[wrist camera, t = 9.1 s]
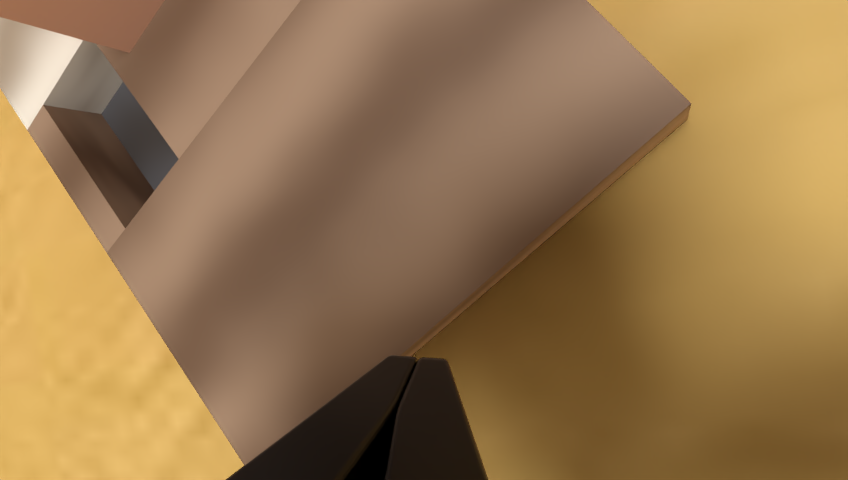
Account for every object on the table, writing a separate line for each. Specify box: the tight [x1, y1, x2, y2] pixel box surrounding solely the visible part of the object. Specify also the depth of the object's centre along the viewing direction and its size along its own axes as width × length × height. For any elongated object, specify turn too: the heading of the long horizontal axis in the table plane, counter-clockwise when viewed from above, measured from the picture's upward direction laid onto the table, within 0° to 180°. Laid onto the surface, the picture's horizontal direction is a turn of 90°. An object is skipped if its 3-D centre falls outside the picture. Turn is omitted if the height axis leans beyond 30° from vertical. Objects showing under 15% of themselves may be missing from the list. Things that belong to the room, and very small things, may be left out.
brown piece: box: [0, 0, 691, 465], centre depth 20 cm, size 25×19×6 cm
